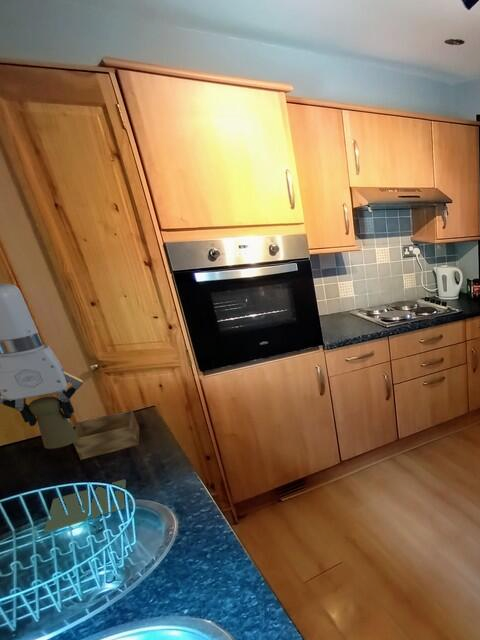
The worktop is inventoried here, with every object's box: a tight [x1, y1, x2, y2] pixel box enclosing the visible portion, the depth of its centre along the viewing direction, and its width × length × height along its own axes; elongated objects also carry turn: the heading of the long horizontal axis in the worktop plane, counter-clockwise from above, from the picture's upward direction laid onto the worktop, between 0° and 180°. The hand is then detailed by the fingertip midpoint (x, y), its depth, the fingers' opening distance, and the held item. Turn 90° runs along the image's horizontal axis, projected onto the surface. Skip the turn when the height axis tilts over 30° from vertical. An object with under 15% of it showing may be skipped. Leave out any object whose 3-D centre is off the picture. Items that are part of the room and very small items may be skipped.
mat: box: [44, 478, 127, 534], centre depth 110 cm, size 14×14×1 cm
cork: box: [28, 396, 79, 450], centre depth 102 cm, size 6×6×11 cm
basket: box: [72, 409, 140, 460], centre depth 135 cm, size 13×13×6 cm
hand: (51, 419), depth 102 cm, fingers closed on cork, 5 cm apart
